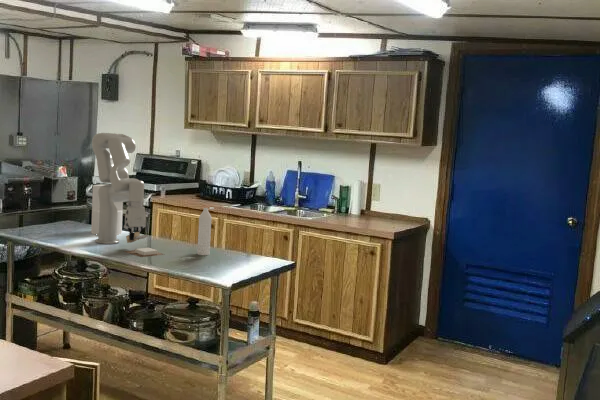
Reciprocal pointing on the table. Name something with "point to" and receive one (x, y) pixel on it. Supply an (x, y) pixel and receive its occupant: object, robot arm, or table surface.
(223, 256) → the table surface
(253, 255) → the table surface
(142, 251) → the tile
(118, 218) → the cylinder
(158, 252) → the board
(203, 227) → the water bottle
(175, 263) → the table surface
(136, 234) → the turner
